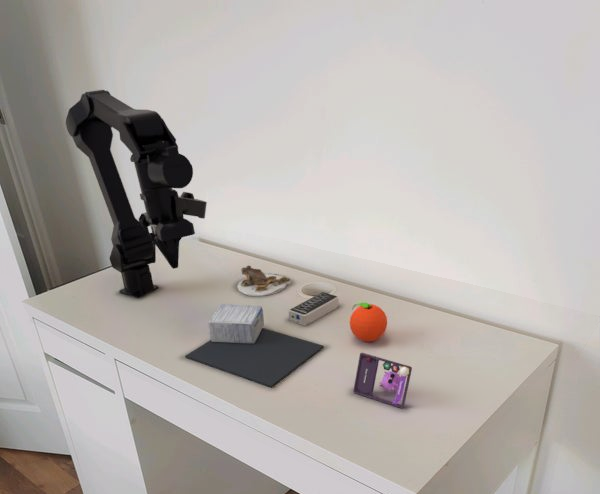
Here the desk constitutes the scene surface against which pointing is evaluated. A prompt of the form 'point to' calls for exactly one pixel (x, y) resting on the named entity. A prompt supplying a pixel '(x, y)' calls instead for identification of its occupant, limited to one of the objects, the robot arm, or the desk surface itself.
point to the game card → (390, 379)
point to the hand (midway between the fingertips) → (175, 267)
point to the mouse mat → (258, 356)
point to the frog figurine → (261, 282)
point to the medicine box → (236, 323)
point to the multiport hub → (313, 308)
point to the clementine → (368, 322)
